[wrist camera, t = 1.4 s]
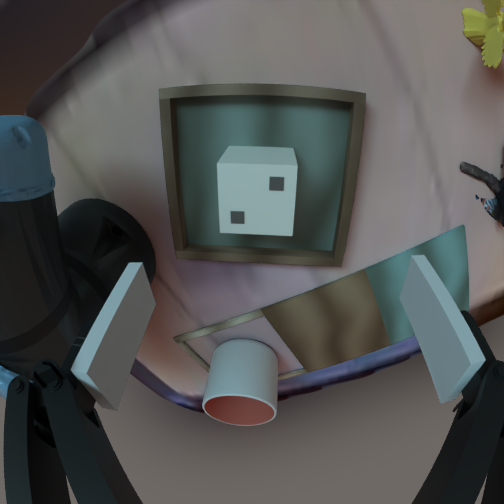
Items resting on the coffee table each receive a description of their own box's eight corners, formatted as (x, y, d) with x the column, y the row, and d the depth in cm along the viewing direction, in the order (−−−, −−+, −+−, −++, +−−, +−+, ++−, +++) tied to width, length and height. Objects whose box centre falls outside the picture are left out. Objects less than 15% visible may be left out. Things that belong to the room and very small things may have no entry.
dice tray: (180, 248, 34) (176, 258, 32) (166, 87, 24) (158, 88, 22) (338, 256, 33) (341, 266, 31) (359, 92, 23) (366, 93, 21)
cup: (221, 373, 47) (212, 424, 39) (206, 335, 42) (192, 393, 34) (280, 372, 46) (279, 425, 37) (275, 332, 40) (273, 394, 32)
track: (230, 389, 50) (229, 391, 50) (173, 337, 43) (173, 339, 42) (467, 308, 36) (469, 310, 36) (462, 224, 29) (464, 226, 29)
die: (230, 204, 30) (219, 233, 25) (228, 146, 27) (216, 163, 21) (290, 206, 29) (293, 237, 24) (294, 148, 26) (298, 166, 21)
